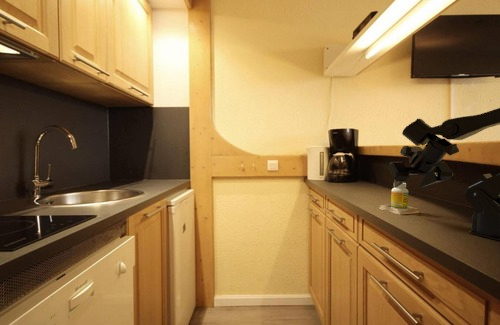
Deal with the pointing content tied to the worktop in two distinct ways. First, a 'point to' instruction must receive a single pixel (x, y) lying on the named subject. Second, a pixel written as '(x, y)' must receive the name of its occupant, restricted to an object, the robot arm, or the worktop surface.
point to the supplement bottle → (399, 197)
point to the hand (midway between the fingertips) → (407, 186)
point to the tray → (406, 211)
